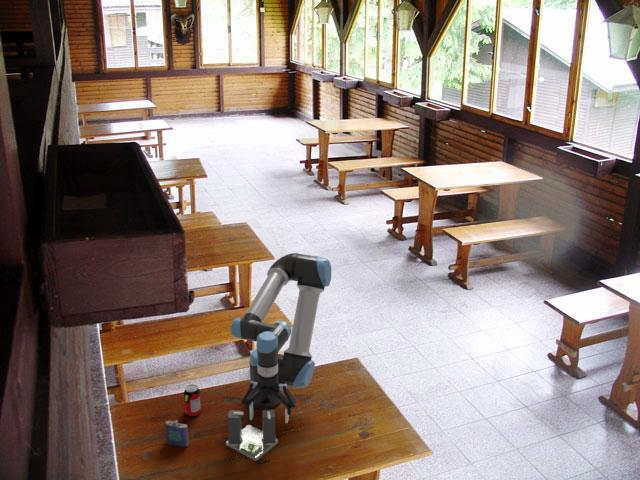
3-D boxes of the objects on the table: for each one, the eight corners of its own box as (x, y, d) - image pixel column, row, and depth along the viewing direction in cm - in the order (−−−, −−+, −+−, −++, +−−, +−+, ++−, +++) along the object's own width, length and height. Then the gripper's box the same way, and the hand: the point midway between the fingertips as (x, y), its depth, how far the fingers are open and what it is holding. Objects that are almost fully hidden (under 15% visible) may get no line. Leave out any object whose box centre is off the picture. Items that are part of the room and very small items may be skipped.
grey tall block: (262, 436, 246) (262, 408, 242) (274, 435, 247) (273, 407, 242) (263, 445, 241) (263, 418, 237) (275, 444, 242) (275, 417, 237)
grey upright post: (228, 443, 242) (227, 416, 237) (230, 436, 246) (229, 408, 241) (243, 444, 242) (242, 416, 237) (245, 436, 246) (244, 409, 241)
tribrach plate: (225, 445, 244) (224, 438, 243) (248, 426, 254) (248, 420, 253) (256, 462, 236) (255, 455, 235) (279, 442, 246) (279, 435, 245)
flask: (190, 443, 245) (188, 420, 241) (186, 448, 242) (184, 425, 238) (168, 439, 247) (166, 416, 243) (164, 443, 244) (162, 420, 240)
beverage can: (199, 406, 266) (198, 382, 261) (202, 415, 260) (200, 391, 256) (184, 409, 264) (182, 385, 260) (186, 418, 258) (184, 393, 254)
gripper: (232, 375, 232) (234, 422, 240) (300, 381, 229) (300, 428, 237) (237, 363, 238) (239, 410, 247) (303, 369, 235) (303, 415, 244)
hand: (269, 419), depth 242 cm, fingers open, 13 cm apart
